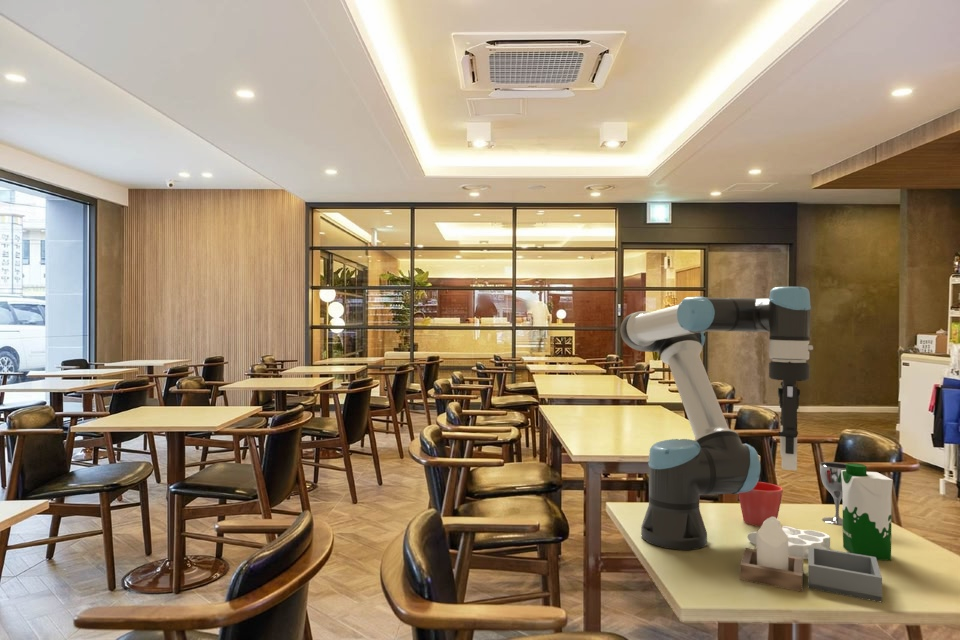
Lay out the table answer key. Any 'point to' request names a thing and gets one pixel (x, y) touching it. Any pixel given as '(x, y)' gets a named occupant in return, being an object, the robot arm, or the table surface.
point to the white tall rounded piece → (772, 545)
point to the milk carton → (866, 512)
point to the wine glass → (833, 486)
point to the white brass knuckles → (800, 540)
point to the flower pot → (760, 503)
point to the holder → (772, 572)
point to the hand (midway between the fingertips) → (788, 462)
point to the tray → (844, 573)
